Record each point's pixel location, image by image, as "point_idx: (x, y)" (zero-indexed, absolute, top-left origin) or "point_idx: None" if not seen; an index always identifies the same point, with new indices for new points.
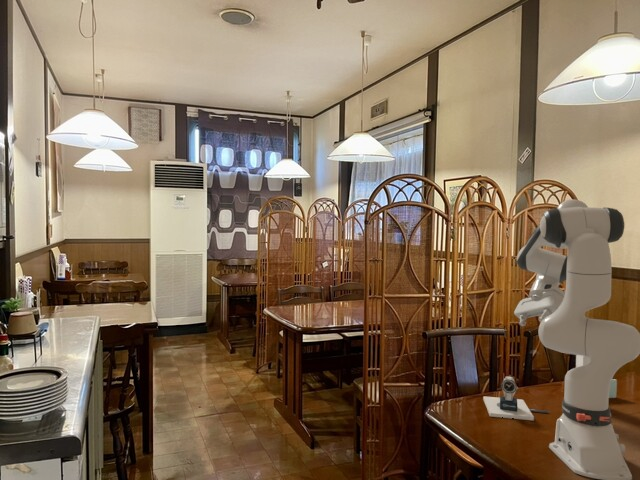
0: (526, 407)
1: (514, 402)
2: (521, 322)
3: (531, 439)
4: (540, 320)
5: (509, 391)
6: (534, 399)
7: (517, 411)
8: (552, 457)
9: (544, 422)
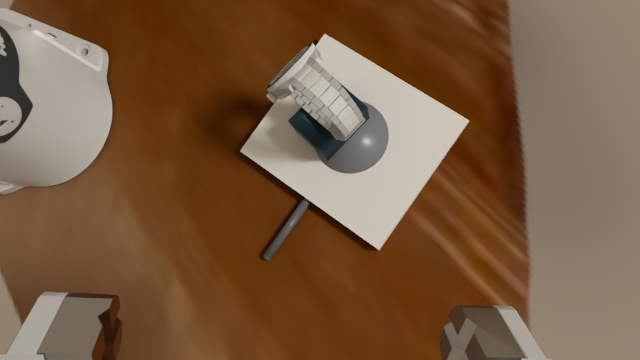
0: (311, 195)
1: (295, 113)
2: (477, 312)
3: (159, 45)
4: (82, 296)
5: (286, 69)
6: (391, 331)
7: (297, 134)
8: (74, 21)
9: (219, 176)
